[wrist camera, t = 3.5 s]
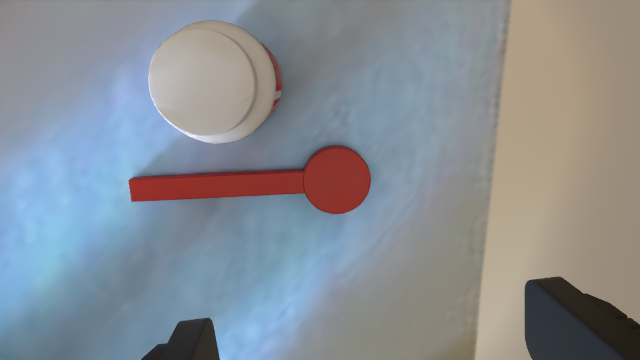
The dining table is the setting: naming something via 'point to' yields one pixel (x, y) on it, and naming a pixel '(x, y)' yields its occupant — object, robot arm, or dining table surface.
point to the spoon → (272, 182)
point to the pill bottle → (214, 82)
